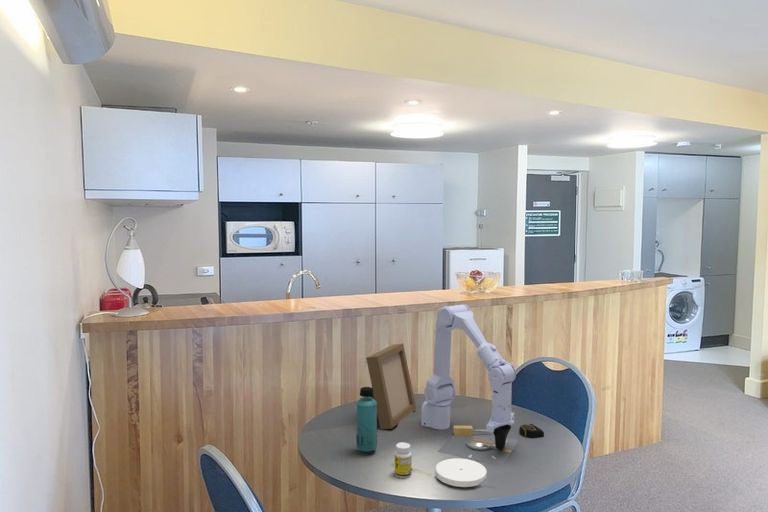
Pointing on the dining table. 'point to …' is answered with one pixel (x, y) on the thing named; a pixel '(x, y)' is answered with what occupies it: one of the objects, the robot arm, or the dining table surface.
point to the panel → (495, 456)
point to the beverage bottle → (366, 421)
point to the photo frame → (391, 385)
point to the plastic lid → (460, 472)
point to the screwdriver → (465, 431)
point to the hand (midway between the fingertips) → (500, 448)
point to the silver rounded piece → (481, 443)
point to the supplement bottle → (403, 460)
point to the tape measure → (530, 431)
